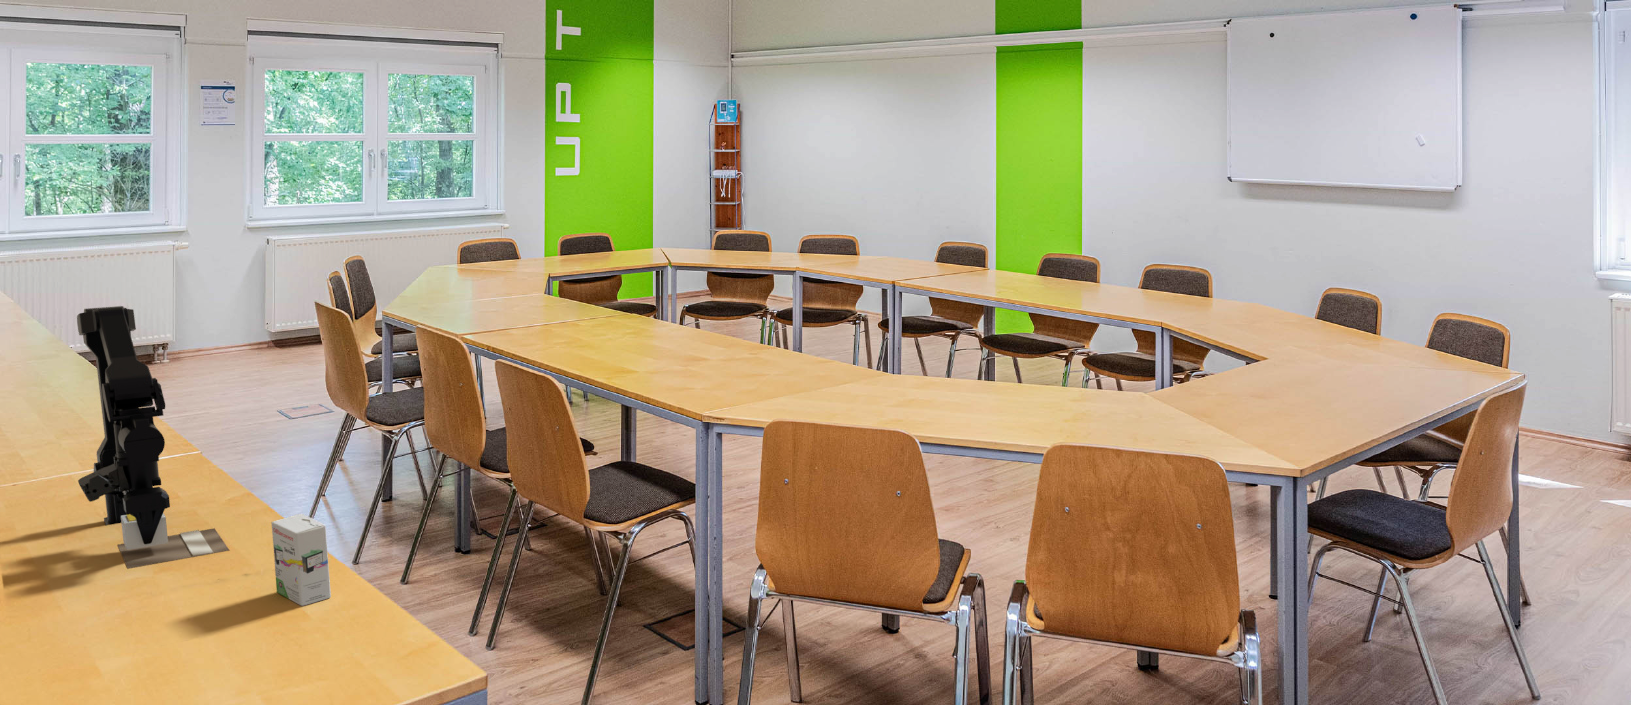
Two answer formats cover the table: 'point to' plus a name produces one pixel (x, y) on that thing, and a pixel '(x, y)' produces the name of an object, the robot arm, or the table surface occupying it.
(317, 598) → the ink box
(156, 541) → the block
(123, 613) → the table surface
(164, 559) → the subfloor board
